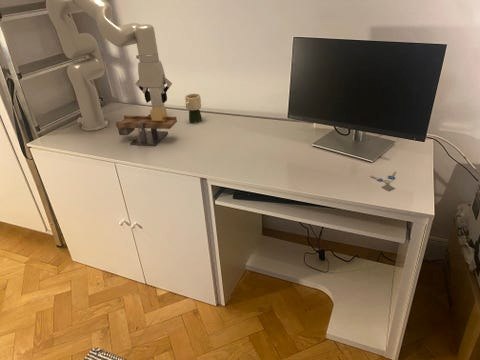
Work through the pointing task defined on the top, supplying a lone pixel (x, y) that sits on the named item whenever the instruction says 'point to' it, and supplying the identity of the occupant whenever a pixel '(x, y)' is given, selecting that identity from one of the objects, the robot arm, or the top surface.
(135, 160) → the top surface
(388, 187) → the key chain
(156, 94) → the travel mug
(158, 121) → the tan block
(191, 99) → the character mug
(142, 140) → the stand
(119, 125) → the beam
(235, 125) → the top surface
